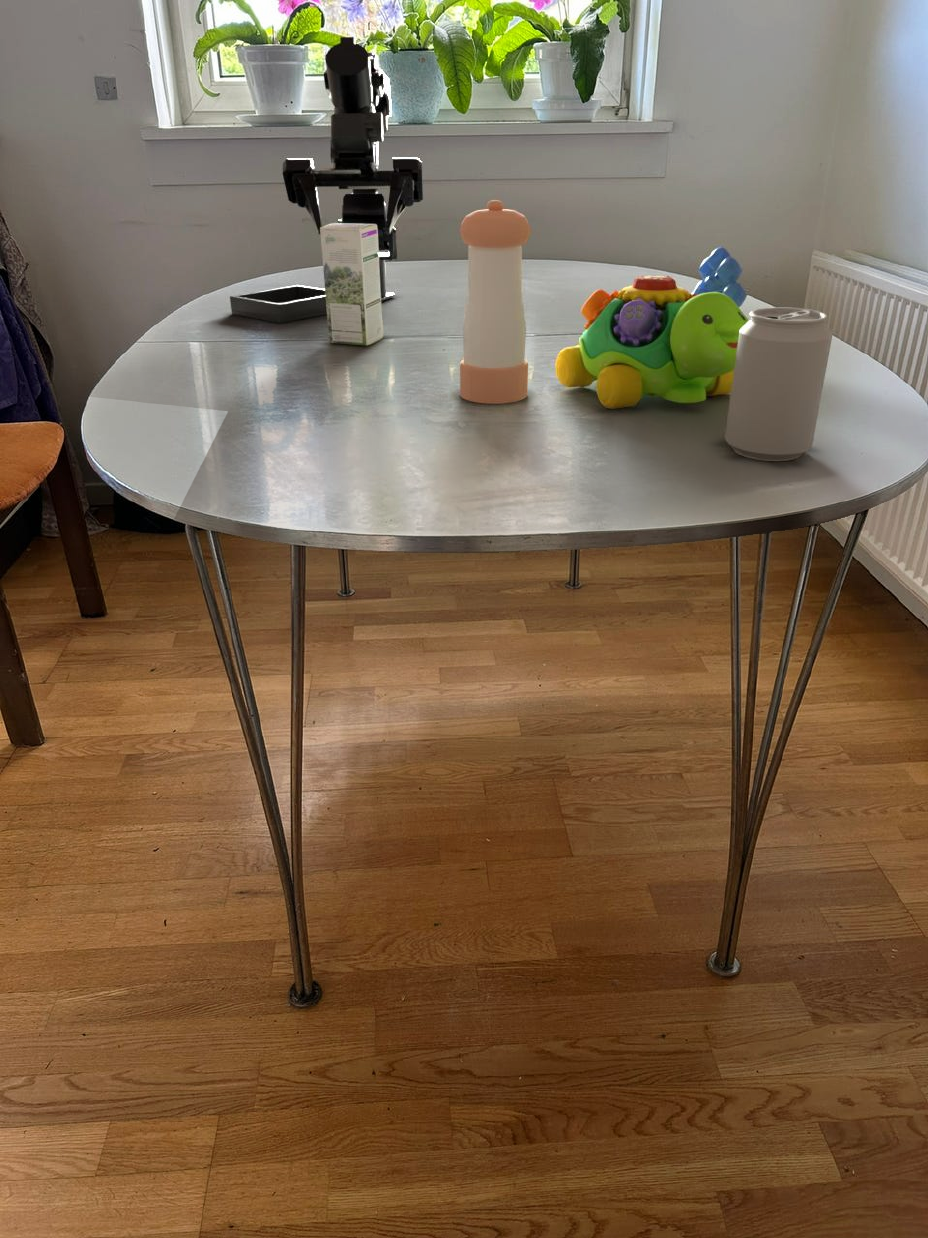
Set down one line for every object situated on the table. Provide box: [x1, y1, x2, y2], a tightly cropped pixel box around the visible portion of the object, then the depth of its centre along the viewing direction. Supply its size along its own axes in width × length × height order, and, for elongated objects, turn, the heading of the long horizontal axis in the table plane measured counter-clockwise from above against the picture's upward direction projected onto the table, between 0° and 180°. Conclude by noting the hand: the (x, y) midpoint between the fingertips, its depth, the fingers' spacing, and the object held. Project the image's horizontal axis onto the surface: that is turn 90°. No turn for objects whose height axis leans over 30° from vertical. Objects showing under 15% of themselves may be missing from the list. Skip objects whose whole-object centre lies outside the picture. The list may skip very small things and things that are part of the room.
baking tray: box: [229, 284, 327, 324], centre depth 141 cm, size 14×12×3 cm
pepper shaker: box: [459, 199, 532, 405], centre depth 94 cm, size 7×7×19 cm
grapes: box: [690, 246, 748, 308], centre depth 115 cm, size 12×7×12 cm, turn 10°
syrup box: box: [319, 222, 384, 346], centre depth 119 cm, size 6×6×14 cm
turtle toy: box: [555, 275, 750, 410], centre depth 95 cm, size 17×23×12 cm
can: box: [724, 306, 833, 462], centre depth 79 cm, size 8×8×12 cm
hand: (353, 231), depth 123 cm, fingers open, 9 cm apart
